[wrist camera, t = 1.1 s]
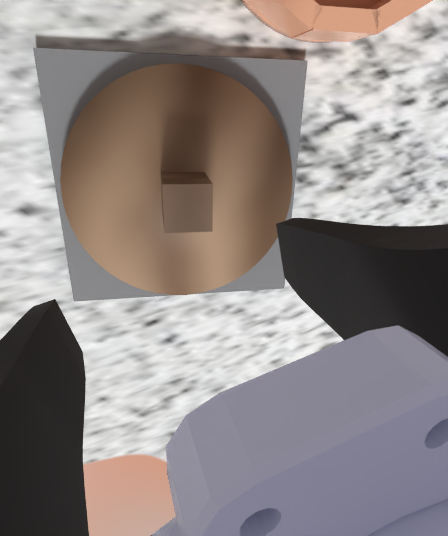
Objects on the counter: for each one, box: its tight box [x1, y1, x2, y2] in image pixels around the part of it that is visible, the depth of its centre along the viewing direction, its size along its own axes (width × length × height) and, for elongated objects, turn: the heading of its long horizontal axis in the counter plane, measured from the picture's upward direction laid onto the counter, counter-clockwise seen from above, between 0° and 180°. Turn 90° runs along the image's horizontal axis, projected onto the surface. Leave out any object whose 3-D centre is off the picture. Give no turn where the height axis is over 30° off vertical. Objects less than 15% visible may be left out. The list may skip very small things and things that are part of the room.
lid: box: [60, 63, 293, 295], centre depth 22 cm, size 14×14×4 cm
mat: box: [33, 48, 307, 301], centre depth 24 cm, size 15×15×1 cm
